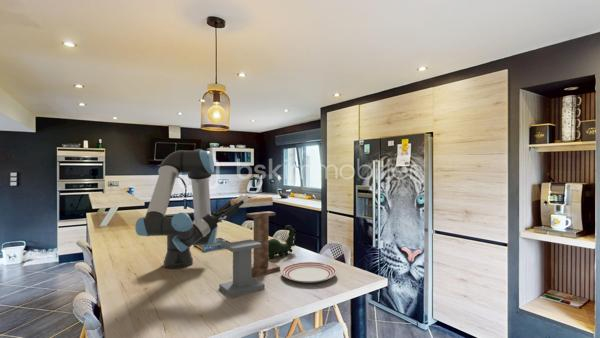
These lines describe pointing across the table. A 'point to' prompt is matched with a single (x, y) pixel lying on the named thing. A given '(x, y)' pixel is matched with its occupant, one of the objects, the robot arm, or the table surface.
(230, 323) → the table surface
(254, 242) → the low stand
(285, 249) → the dark green knobbed ball
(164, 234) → the robot arm
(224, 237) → the table surface
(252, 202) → the brown and gray block
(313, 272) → the dinner plate
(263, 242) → the tall stand
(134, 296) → the table surface
